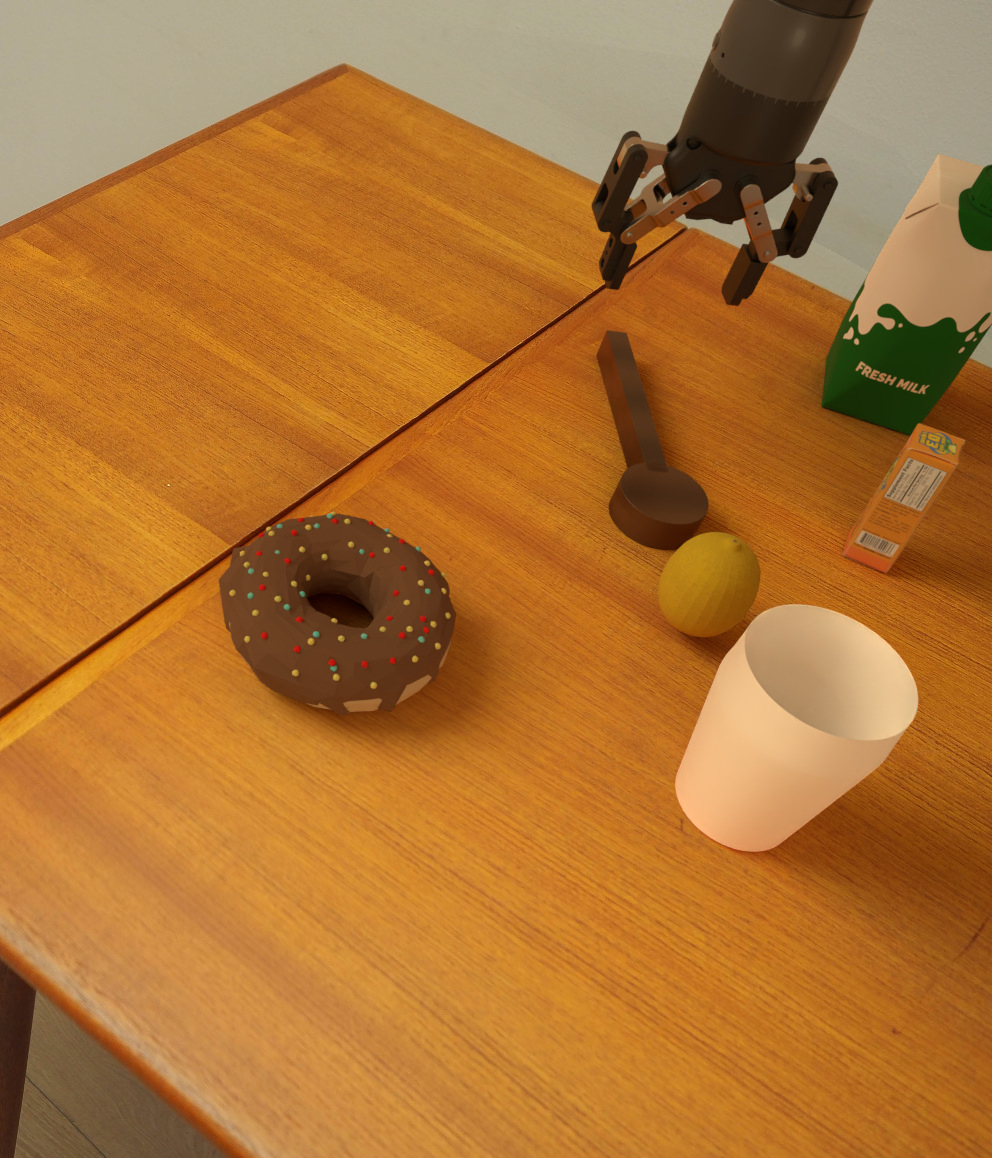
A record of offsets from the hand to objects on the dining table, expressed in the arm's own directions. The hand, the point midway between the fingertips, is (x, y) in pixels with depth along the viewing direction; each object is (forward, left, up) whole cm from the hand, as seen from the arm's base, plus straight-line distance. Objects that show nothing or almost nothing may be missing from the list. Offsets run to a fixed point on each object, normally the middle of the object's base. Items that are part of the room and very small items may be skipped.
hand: (669, 291), depth 90 cm
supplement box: (-15, +13, -11) cm, 22 cm away
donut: (+23, +26, -11) cm, 36 cm away
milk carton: (-21, -5, -11) cm, 24 cm away
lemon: (0, +22, -11) cm, 24 cm away
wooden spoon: (0, +5, -10) cm, 11 cm away
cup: (0, +35, -11) cm, 36 cm away
